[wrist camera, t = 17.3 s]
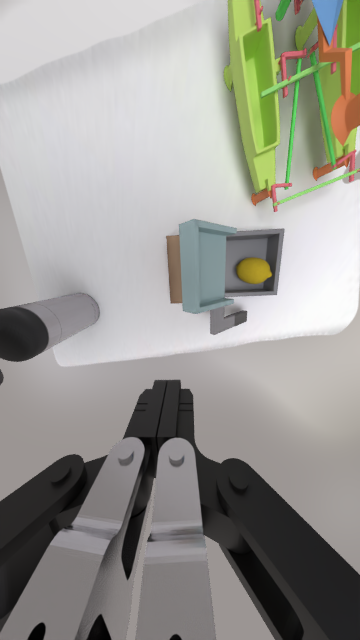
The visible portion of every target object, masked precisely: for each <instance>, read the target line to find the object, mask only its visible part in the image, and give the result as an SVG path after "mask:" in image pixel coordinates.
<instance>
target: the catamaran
mask: <svg viewBox="0 0 360 640" xmlns="http://www.w3.org/2000/svg"><path fill="white" fill-rule="evenodd" d="M302 1H303V0H294V6H295V15H296V14H298V13H299V11H300V5H301V3H302ZM290 2H291V0H281V1H280V4H279V6H278V9H277V11H276V20H277V21H281V20H282V19H283V17H284V15H285V13H286V10H287V8H288V6H289V4H290ZM312 2H313V5H314V8H313V10H312V12H311V14H310V15H309V17H308V19H307V21H306V22H305V24H304V26H303V27H302V26H301V25H300V26H298V28H297V30H296V34H295V42H296V47H297V50H298V51H291V52H284V53H282V54H281V56H280V58H278V59H276V60H275V54H274V43H273V33H272V23H271V17H270V18H268V19H266V20H265V21H264V17H263V12H262V9H263V6H261V2H260V0H228V27H229V48H230V65H229V66H228V65H226V67H225V69H224V79H225V83H226V85H227V88H228V89H229V90H230V92H231V89H232V80H233V86H234V92H235V99H236V105H237V112H238V118H239V124H240V130H241V136H242V142H243V147H244V152H245V156H246V160H247V163H248V167H249V171H250V174H251V178H252V182H253V185H254V189H255V192H256V193H258V192H260V193H259V194H257V195H255V194H252V202H253V204H254V205H255V206H256V203H258V202H260V201H262V200H264V199H266V198H268V197H269V196H270V198H271V199H273V208H274V212H276V211H277V205H279V204H281V203H283V202H286V201H288V200H291V199H293V198H296V197H298V196H301V195H303V194H306V193H308V192H310V191H313V190H315V189H318V188H320V187H323V186H325V185H328V184H330V183H333V182H335V181H338V180H340V179H342V178H345V177H347V176H349V182H351V181H353V180H354V174H355V173H357V172H360V168H359V169H356V170H354V168H355V152H356V150H355V141H356V133H357V127H358V126H359V125H360V0H312ZM317 24H318V42H317V43H316V44H315V45H314V46H312V47H311V48H310V50H309V54H308V56H307V58H309V57H310V61H311V66H312V67H310V68H308V69H306V70H304V71H302V72H300V71H301V61H302V58H305V57H306V55H307V49H306V48H305V49H304V50H302V49H303V46H304V44H305V42H306V41H307V39H308V38H309V36H310V34H311V33H312V31H313V30H314V28H315V26H316V25H317ZM317 48H318V50H319V63H318V64H317V62H316V57H315V50H316V49H317ZM286 59H297V62H296V64H297V69H296V75H294V76H292V77H291V76H289V78H288V79H287V74H286ZM318 70H319V72H318ZM280 71H281V75H282V82H280V83H278V84H277V78H276V75H278V74H279V72H280ZM311 73H313V76H314V81H315V86H316V91H317V96H318V101H319V107H320V120H321V127H322V134H323V141H324V147H325V153H326V159H327V163H329V162H331V163H329V164H327V165H325V166H323V167H321V168H319V169H318V168H317V167H315V168H314V171H313V176H314V179H315V180H316V181H317V179H318V178H319V177H321V176H323V175H325V174H327V173H329V172H331V171H333V170H335V169H338V168H340V167H342V166H344V165H345V166H346V168H347V166H348V164H349V161H350V169H349V173H347V174H344V175H342V176H339V177H337V178H335V179H332V180H330V181H327V182H325V183H322V184H320V185H317V186H315V187H313V188H310V189H308V190H305V191H303V192H300V193H298V194H295V195H293V196H291V197H288V198H286V199H283V200H281V201H278V202H277V201H276V192H275V188H277V187H284V188H285V190H286V189H288V187H291V186H292V183H289V176H290V166H291V157H292V147H293V138H294V128H295V119H296V109H297V100H298V90H299V80H300V79H301V78H303V77H305V76H307V75H309V74H311ZM293 82H295V89H294V99H293V110H292V120H291V130H290V140H289V150H288V161H287V171H286V181H285V183H283V184H276V183H275V148H276V147H277V146H278V145H279V144H280V118H279V102H278V90H280V89H283V98H285V97H286V96H287V95H288V89H287V85H289V84H291V83H293ZM261 191H262V192H261Z"/></svg>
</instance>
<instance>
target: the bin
mask: <svg viewBox="0 0 360 640" xmlns="http://www.w3.org/2000/svg"><path fill="white" fill-rule="evenodd" d="M283 237H284V229H269V230H254V231H238V232H237V233H236V234H233V235H229V236H226V262H225V297H237V296H262V295H277V289H278V280H279V271H280V263H281V254H282V246H283ZM251 257H254V258H260V259H263V260H265V261H266V262H267V263H268V264H269V266H270V271H271V273H272V276H271V277H269V278H267V279H266V280H265V281H264V282H262V283H259V284H250V283H246V282H244V281H242V280H241V279H240V278H239V277H238V275H237V272H236V266H237V265H238V264H239V263H240V262H241V261H242V260H244V259H246V258H251Z"/></svg>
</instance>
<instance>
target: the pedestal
mask: <svg viewBox="0 0 360 640" xmlns="http://www.w3.org/2000/svg"><path fill="white" fill-rule="evenodd" d="M166 238H167V254H168V269H169V285H170V300H171V303H182V281H181V258H180V236H179V235H175V236H166Z"/></svg>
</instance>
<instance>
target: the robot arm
mask: <svg viewBox="0 0 360 640" xmlns="http://www.w3.org/2000/svg"><path fill="white" fill-rule="evenodd" d="M98 317H99V308H98V305H97V303H96V302H95V301H94V300H93V299H92V298H91V297H90V296H88V295H86V294H81V293H79V294H73V295H68V296H62V297H58V298H53V299H48V300H43V301H38V302H33V303H28V304H24V305H19V306H14V307H9V308H4V309H0V358H2V359H5V360H8V361H14V362H15V361H16V362H19V361H25V360H28V359H31V358H33V357H35V356H36V355H38V354H40V353H42V352H44V351H45V350H47V349H49V348H51V347H53V346H54V345H56V344H58V343H60V342H62V341H63V340H65V339H67V338H69V337H71V336H72V335H74V334H76V333H78V332H80V331H81V330H83V329H85V328H87V327H89V326H90V325H92V324H94V323H95V322H96V321H97V319H98ZM3 378H4V377H3V374H2V372H1V370H0V385H1V383H2V382H3ZM154 478H156V485H155V495H154V506H153V516H152V526H151V533H150V536H149V538H148V540H147V545H146V551H145V558H144V567H143V576H142V585H141V594H140V604H139V612H138V621H137V630H136V639H135V640H216V634H215V625H214V615H213V606H212V598H211V588H210V579H209V570H208V562H207V552H206V544H205V537H204V535H205V536H207V537H209V538H210V539H212V540H214V541H216V542H217V543H219V546H220V547H221V549H222V551H223V553H224V554H225V556H226V558H227V560H228V561H229V563H230V565H231V566H232V568H233V569H234V571H235V573H236V575H237V576H238V578H239V580H240V581H241V583H242V585H243V587H244V588H245V590H246V591H247V593H248V595H249V597H250V598H251V600H252V602H253V603H254V605H255V607H256V608H257V610H258V612H259V613H260V615H261V617H262V618H263V620H264V622H265V623H266V625H267V627H268V628H269V630H270V632H271V634H272V635H273V637H274V639H275V640H360V575H359V574H358V573H357V572H356V571H355V570H354V569H353V568H352V567H351V566H350V565H349V564H348V563H347V562H346V561H345V560H344V559H343V558H342V557H341V556H340V555H339V554H338V553H337V552H336V551H335V550H334V549H333V548H332V547H331V546H330V545H329V544H328V543H327V542H326V541H325V540H324V539H323V538H322V537H321V536H320V535H319V534H318V533H317V532H316V531H315V530H314V529H313V528H312V527H311V526H310V525H309V524H308V523H307V522H306V521H305V520H304V519H303V518H302V517H301V516H300V515H299V514H298V513H297V512H296V511H295V510H294V509H293V508H292V507H291V506H290V505H289V504H288V503H287V502H286V501H285V500H284V499H283V498H282V497H281V496H280V495H279V494H277V492H276V491H274V489H273V488H271V486H269V484H268V483H266V482H265V480H264V479H263V478H262V477H261V476H260V475H258V474H257V473H256V472H255V471H254V470H253V469H252V468H251V467H250V466H249V465H248V464H247V463H245V462H244V461H241V460H239V459H235V458H231V459H227V460H224V461H223V462H222V463H221V464H220V463H218V462H215V461H213V460H210V459H208V458H206V457H205V456H204V455H202V454H201V453H200V451H199V450H198V448H197V447H196V444H195V439H194V411H193V395H192V393H191V391H190V389H181V382H180V380H155V382H154V385H153V388H152V389H146V390H145V391H144V392H143V393H142V394H141V395H140V397H139V399H138V402H137V405H136V407H135V409H134V412H133V414H132V417H131V419H130V422H129V425H128V427H127V430H126V432H125V435H124V437H123V439H122V440H121V441H119V442H118V443H117V444H116V445H114V446H113V448H112V449H111V451H110V452H109V454H108V455H106V456H104V457H101V458H98V459H95V460H92V461H89V462H86V463H84V461H83V458H81V456H79V455H75V454H73V455H67V456H65V457H63V458H61V459H59V460H57V461H56V462H55V463H53V464H52V465H50V466H49V467H48V468H46V469H45V470H43V471H42V472H41V473H39V474H38V475H36V476H35V477H34V478H32V479H31V480H29V481H28V482H27V483H25V484H24V485H22V486H21V487H20V488H18V489H17V490H15V491H14V492H13V493H11V494H10V495H8V496H7V497H6V498H5V499H3V500H2V501H0V640H126V635H127V630H128V624H129V619H130V612H131V603H132V590H133V583H134V577H135V573H136V568H137V563H138V559H139V554H140V550H141V545H142V541H143V536H144V531H145V527H146V522H147V518H148V513H149V509H150V504H151V491H152V485H153V479H154Z"/></svg>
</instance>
